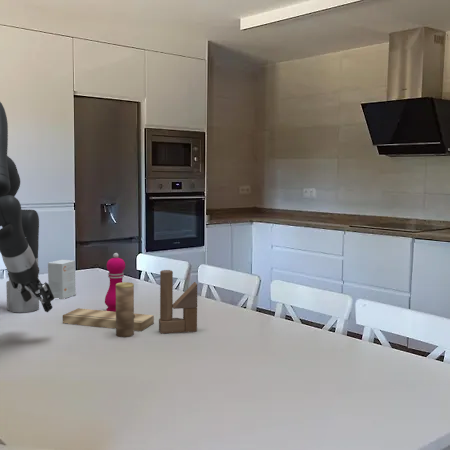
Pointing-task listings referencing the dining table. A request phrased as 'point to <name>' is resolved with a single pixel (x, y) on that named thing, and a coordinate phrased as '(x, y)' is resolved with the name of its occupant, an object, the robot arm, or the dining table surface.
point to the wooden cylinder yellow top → (125, 309)
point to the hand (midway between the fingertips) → (38, 304)
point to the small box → (62, 278)
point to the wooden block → (176, 306)
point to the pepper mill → (114, 280)
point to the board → (104, 319)
